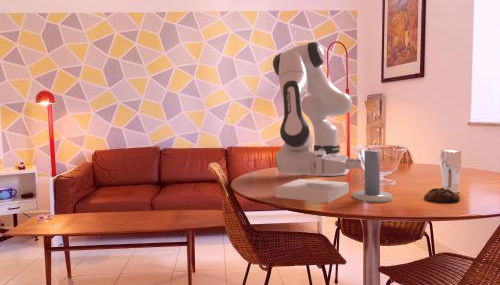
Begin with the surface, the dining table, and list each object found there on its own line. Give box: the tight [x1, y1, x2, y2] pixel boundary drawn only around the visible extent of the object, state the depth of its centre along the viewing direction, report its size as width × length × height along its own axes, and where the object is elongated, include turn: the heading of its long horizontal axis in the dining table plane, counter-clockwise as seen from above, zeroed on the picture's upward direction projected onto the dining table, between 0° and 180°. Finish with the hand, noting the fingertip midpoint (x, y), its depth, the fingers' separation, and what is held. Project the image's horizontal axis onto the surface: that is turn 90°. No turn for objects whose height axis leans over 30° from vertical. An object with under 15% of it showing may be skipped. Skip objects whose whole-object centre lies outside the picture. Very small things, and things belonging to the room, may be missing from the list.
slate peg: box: [364, 149, 381, 196], centre depth 140 cm, size 5×5×15 cm
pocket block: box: [274, 178, 350, 204], centre depth 147 cm, size 20×20×4 cm
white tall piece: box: [439, 149, 463, 194], centre depth 148 cm, size 7×7×15 cm
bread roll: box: [423, 187, 461, 204], centre depth 136 cm, size 11×11×5 cm
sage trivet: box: [352, 190, 393, 204], centre depth 140 cm, size 13×13×2 cm
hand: (360, 163), depth 140 cm, fingers open, 8 cm apart
